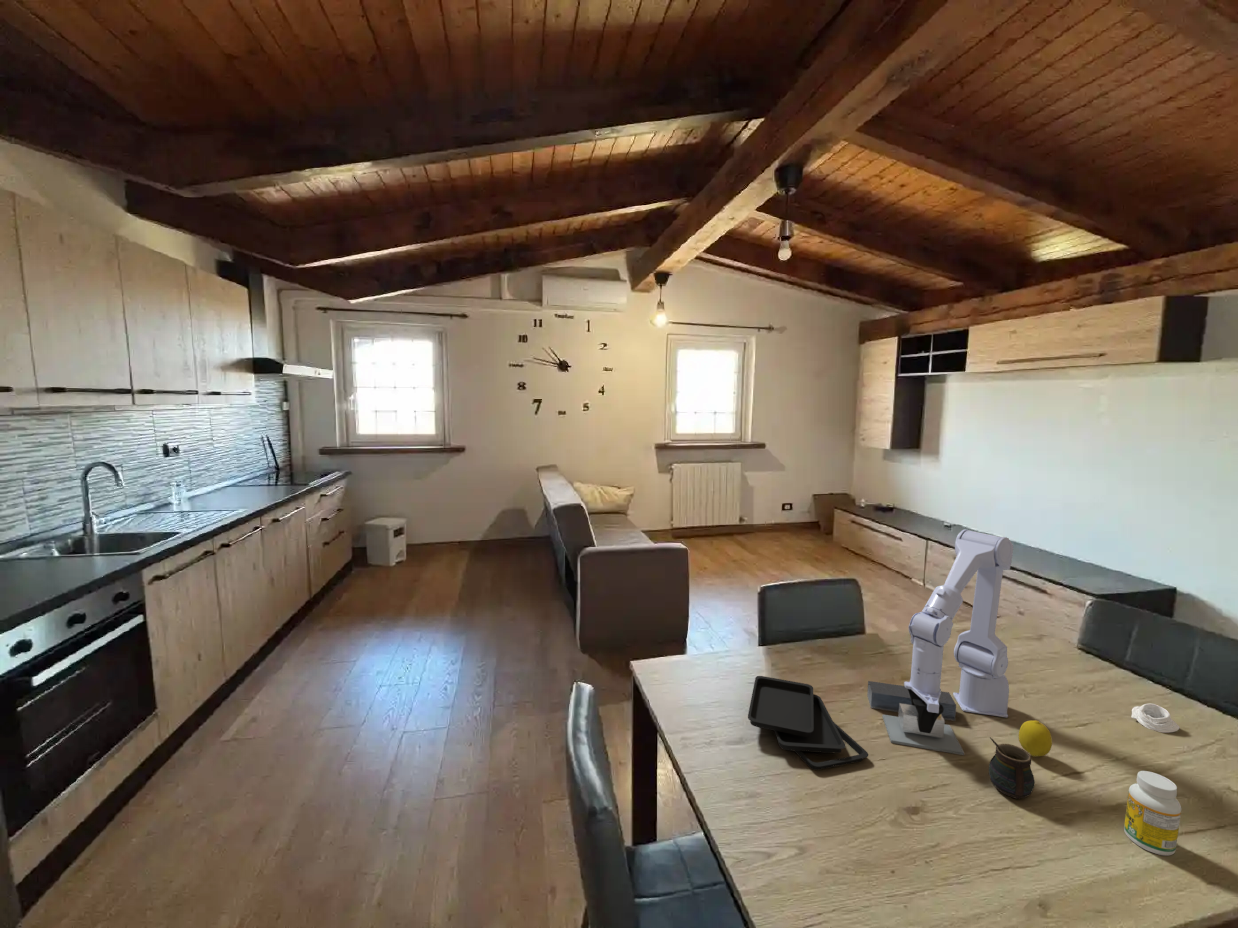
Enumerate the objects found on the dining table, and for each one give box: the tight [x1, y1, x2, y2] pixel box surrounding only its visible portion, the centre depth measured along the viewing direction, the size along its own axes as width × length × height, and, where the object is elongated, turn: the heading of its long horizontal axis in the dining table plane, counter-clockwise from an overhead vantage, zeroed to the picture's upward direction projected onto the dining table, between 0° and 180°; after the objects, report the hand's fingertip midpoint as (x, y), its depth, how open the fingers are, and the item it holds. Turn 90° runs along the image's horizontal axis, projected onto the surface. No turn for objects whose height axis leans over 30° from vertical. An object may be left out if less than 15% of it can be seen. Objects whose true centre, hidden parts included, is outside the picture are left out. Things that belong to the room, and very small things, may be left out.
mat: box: [882, 714, 965, 756], centre depth 119 cm, size 14×10×1 cm
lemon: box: [1018, 719, 1053, 758], centre depth 112 cm, size 6×6×8 cm
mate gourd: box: [988, 736, 1036, 800], centre depth 102 cm, size 7×8×10 cm
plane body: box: [866, 680, 957, 722], centre depth 130 cm, size 18×6×4 cm, turn 73°
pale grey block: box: [897, 703, 946, 738], centre depth 119 cm, size 8×5×5 cm, turn 74°
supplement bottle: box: [1123, 770, 1182, 856], centre depth 90 cm, size 6×6×11 cm
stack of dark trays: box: [747, 675, 869, 771], centre depth 120 cm, size 30×23×5 cm
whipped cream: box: [1130, 703, 1181, 734], centre depth 124 cm, size 8×7×5 cm
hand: (921, 724), depth 119 cm, fingers closed on pale grey block, 4 cm apart
